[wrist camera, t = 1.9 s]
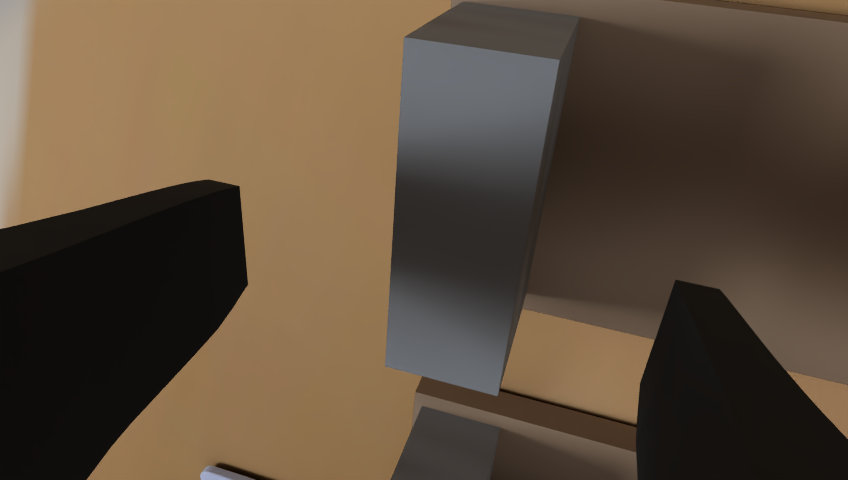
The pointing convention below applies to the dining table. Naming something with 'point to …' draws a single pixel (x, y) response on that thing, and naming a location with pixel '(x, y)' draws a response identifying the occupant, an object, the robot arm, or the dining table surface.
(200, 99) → the dining table surface
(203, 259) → the robot arm
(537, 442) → the empty strip
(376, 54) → the dining table surface
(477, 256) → the brown and grey piece
